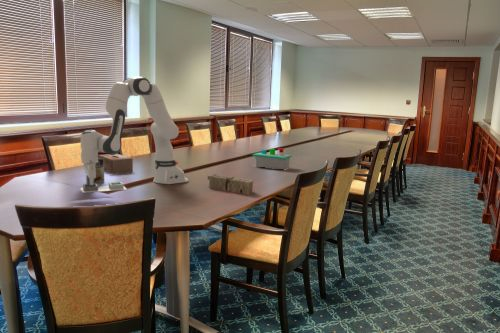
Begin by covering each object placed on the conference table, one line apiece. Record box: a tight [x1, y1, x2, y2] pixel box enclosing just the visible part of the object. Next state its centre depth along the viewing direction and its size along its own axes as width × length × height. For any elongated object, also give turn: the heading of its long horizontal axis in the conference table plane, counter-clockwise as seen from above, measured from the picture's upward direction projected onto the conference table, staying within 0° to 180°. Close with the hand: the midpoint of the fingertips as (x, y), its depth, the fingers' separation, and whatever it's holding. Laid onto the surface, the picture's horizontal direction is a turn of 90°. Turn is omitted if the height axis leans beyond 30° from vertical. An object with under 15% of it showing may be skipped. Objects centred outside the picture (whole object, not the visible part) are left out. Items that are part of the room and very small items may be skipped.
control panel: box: [252, 147, 292, 170], centre depth 331 cm, size 15×16×30 cm
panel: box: [80, 181, 127, 194], centre depth 237 cm, size 24×12×4 cm, turn 118°
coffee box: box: [95, 157, 105, 184], centre depth 253 cm, size 9×6×16 cm
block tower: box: [207, 173, 254, 195], centre depth 252 cm, size 8×8×29 cm
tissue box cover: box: [98, 153, 134, 175], centre depth 300 cm, size 26×14×10 cm, turn 41°
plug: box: [85, 174, 96, 187], centre depth 233 cm, size 4×4×9 cm
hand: (90, 183), depth 234 cm, fingers open, 6 cm apart
